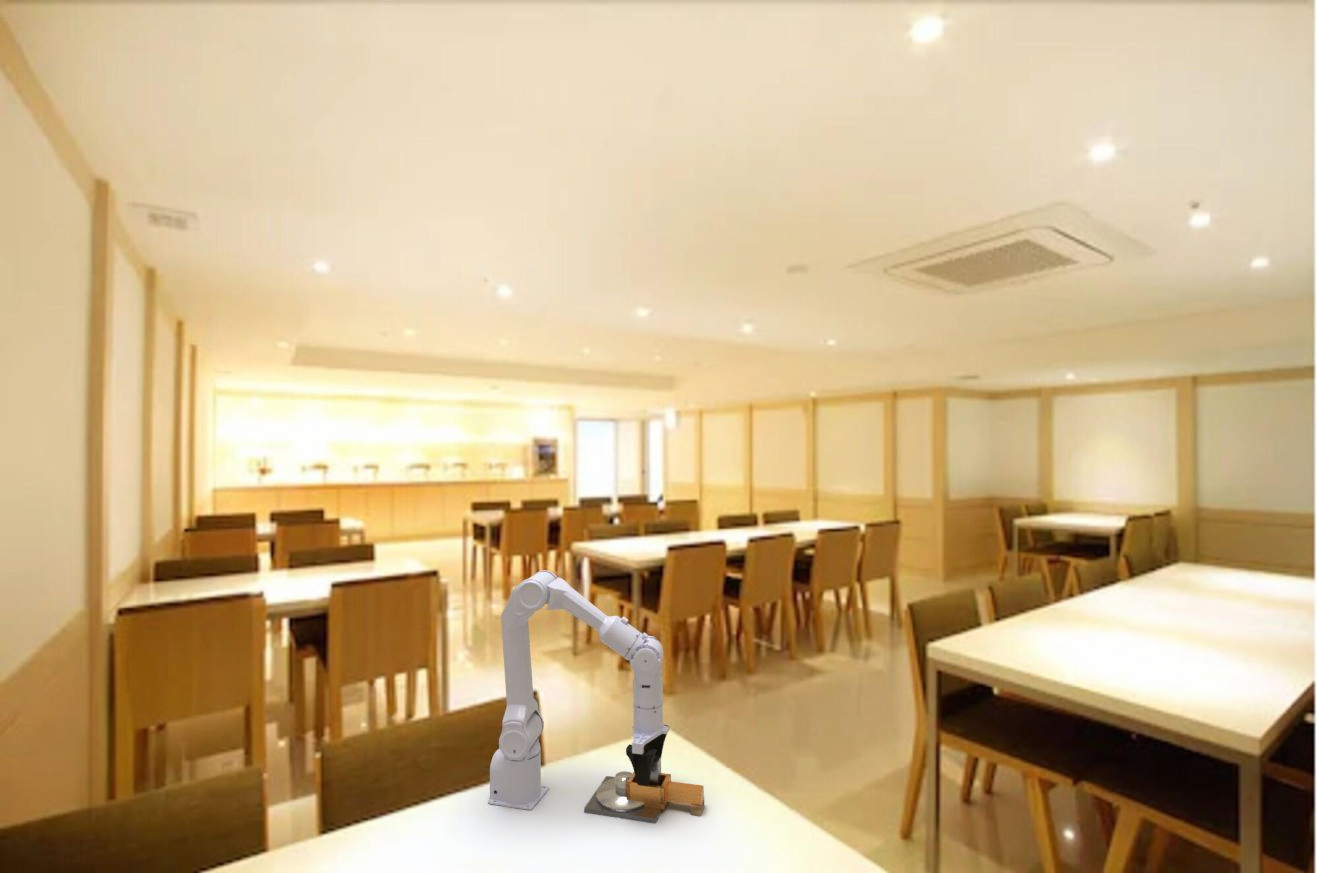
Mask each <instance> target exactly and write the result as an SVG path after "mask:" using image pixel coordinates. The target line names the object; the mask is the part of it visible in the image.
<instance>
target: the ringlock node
mask: <svg viewBox="0 0 1317 873" xmlns="http://www.w3.org/2000/svg"><path fill="white" fill-rule="evenodd" d="M704 788H705V786H704V785H702V784H694V783H688V782H687V783H686V782H679V781H673V780H672V774H671V773H664V772H661V786H655V785H648V786H640V785H638V784H637V781H636V777H635V773H634V771H633V772H631V771H628V770H627V771H626V770H625V771H619V772H618V773H616V774H615V776H609V775H606V776H605V777H604V778H603V781H602V782H601V783H600V785H599V786H598V788H597V789H596V790H595V792H594V793H593V795H592V796H591V798H590V799H589V801H588V802H587V803H586V805H585V806H584V808H583V809H584V810H583V812H584V813H587V814H593V815H598V816H599V815H600V816H605V817H606V816H607V817H612V818H619V819H627V820H630V821H631V820H632V821H638V822H644V823H645V822H646V823H652V824H656V823H657V821H658V820H659V817H660V815H661V813H662V811H663V810H665V808H666V805H667V804H668V802H670V803H677V804H686V805H690V806H689V815H691V816H696V817H697V816H698V817H701V816H702V814H703V810H704V808H705V796H704V794H705V789H704Z"/></svg>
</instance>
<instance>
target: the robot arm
mask: <svg viewBox="0 0 1317 873" xmlns="http://www.w3.org/2000/svg"><path fill="white" fill-rule="evenodd" d="M545 605H547V607H546V611H557V610H564V611H567V612H568V614H571V615H572V616H574V617H576V618H577V619H578V620H580V621H582V622H583V623H585V624H586V625H587V626H590V628H592V629H594V630H596V631H597V632H598V636H599V641H600V642H602V643H603V644H604V645H606V646H607V647H608V648H609V649H611V650H613V652H615V653H616V654H618V655H619V656H620V657H622V658H623V659H624V660H626V661H629V664H630V668H631V669H632V671H633V680H632V684H633V685H632V688H633V689H632V690H633V691H632V692H633V693H632V694H633V695H632V696H633V697H632V699H633V701H632V703H633V704H632V706H633V711H632V712H633V713H632V714H633V725H632V738H633V739H632V742H631V744H628V745H627V746H626V748H625V754H626V756H627V758H628V759H629V761H630V763H631V765H632V769H633V772H634V773H635V777H636V781H637V784H638V785H640V786H648V785H649V782H650V776H651V767H652V762H653V759H654V756H661V757H662V755H663V750H664V745H665V741H666V738H667V735H668V733H669V732H670V725H668V724H665V723H664V705H663V704H664V702H663V698H664V697H663V695H664V692H663V690H664V689H663V688H664V687H663V684H664V683H663V677H662V675H663V670H662V661H663V660H662V659H663V658H664V648H663V645H662V643H661V642H660V640H658V639H657V637H655V636H653V635H652V636H651V635H648V634H647V633H646V632H640V631H639V629H637V628H635V627H633V626H632V625H631V624H630V623H628V622H629V619H628V618H627V617H625V616H622V617H620V616H619V615H612V616H608V615H607V614H605V613H604V612H603V611H602V610H601V609H599V608H598V607H596V606H595V605H594V603H592V602H590V601H589V600H588V599H587V598H585V597H584V596H583V595H582V594H581V593H579V592H578V591H577V590H576V589H574V588H573V587H572V586H571V585H569V583H568V582H567V581H566V580H565V579H563V578H561V577H558V576H557V575H556V574H555V573H553V572H551V571H550V570H545V569H544V570H543V569H542V570H539V571H537V572H535V573H534V574H533V575H532V576H529V578H526V579H524V580H522V581H521V582H520V583H518V585H517V586H515V587H514V588H513V589H512V590H511V593H510V596H509V599H508V600H507V602H506V605H505V606H504V609H503V610H502V612H501V615H500V620H501V621H500V623H501V624H500V625H501V638H502V651H503V652H502V653H503V667H504V669H503V670H504V680H505V694H506V695H505V696H506V707H505V708H506V709H505V712H504V715H503V718H502V729H501V733H500V736H499V739H498V746H499V748H498V749H497V750H495V752H494V753H493V755H492V759H491V760H490V761H491V762H490V765H489V799H488V801H487V805H488V804H489V805H494V806H499V807H507V808H513V809H519V810H525V811H526V810H527V811H532V810H533V809H534V808H535V807H536V805H537V804H538V803H539V802H540V801H541V800H542V798H543V797H544V796H545V795H546V793H547V792H548V791H550V790H549V789H550V787H549V786H547V785H542V783H541V781H542V778H541V777H542V776H541V775H542V769H541V768H542V764H541V750H542V749H541V748H542V746H541V744H540V742H539V738H540V737H541V735H542V733H543V731H544V729H545V722H544V719H543V718H544V717H543V716H542V714H541V713H540V711H539V704H538V702H537V700H536V699H535V698H534V687H533V686H534V685H533V671H532V658H531V655H532V654H531V644H530V643H531V642H530V628H529V620H530V618H532V616H533V615H534V614H535V613H536V612H538V611H539V610H541V609H542V608H543V607H544V606H545Z"/></svg>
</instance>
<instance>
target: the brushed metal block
mask: <svg viewBox="0 0 1317 873" xmlns="http://www.w3.org/2000/svg"><path fill="white" fill-rule="evenodd" d="M661 773H662V756H654V759H653V762H652V767H651V776H650V782H649V785H655V786H661Z"/></svg>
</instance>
